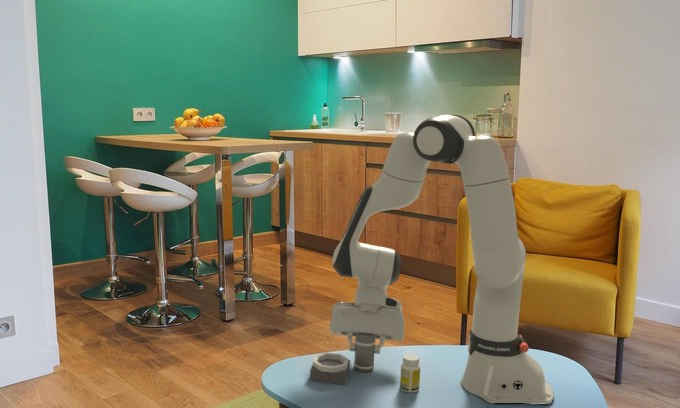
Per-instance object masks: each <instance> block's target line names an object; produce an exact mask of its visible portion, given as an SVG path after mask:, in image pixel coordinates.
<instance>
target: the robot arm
mask: <svg viewBox="0 0 680 408" xmlns="http://www.w3.org/2000/svg"><path fill="white" fill-rule="evenodd" d="M431 162H432V163H439V164H440V163H442V164H448V165H454V163H455V164H456V165H457V166H458V168H459V170H460V173H461V179H462V184H463V189H464V194H465V195H464V196H465V201H466V205H467V211H468V217H469V226H470V227H469V228H470V238H471V240H470V241H471V247H472V248H471V249H472V256H473V266H474V271H475V275H476V277H477V283H476V289H475V294H474V301H473V311H472V323H471V329H470V331H469V335H468V344H467V346H468V347H467V351H468V357H467V361H466V366H465V369H464V373H463V375H462V377H461V380H460V384H461V386H462V387H463V388H464V390H466V391H467V392H469V393H470V394H473V395H475V396H477V397H479V398H481V399H483V400H484V401H486V402H487V403H489V404H492V405H493V404H494V403H545V404H548V403H550V402H552V403H553V401H554V390H553V388H552V386H551V385H550V383H549V381H547V380H546V379H545V374H544V370H543V368H542V366H541V365H540V362H538V361H537V360H536V359H534V358H533V357H532V356H531V355H530V354H529V353H528V352H529V345H528V343H527V342H526V340H525V338H523V335H521V334H518V329H519V319H520V318H519V317H520V306H521V300H522V299H521V297H522V290H523V282H524V273H525V265H526V257H527V256H526V253H527V252H526V247H525V245H524V243H523V241H522V240H521V239H520V237H519V232H518V225H517V215H516V214H517V213H516V204H515V200H514V195H513V189H512V184H511V178H510V173H509V169H508V164H507V162H506V158H505V154H504V152H503V149H502V147H501V144H500V143H499V141H498V140H497V139H496V138H495V137H493V136H489V135H477V136H476V131H475V128H474V126H473V124H472V123H471V121H470V120H469V119H467V118H466V117H464V116H462V115H458V114H451V115H449V114H440V115H435V116H433V117H429V118H426V119H425V120H423V121H421V123H420V124H419V125H418V126H417V127H416V128H415V130H414V132H412V131H411V132H410V131H407V132H401V133H399V134H398V135H396V136H395V137H394V139H393V141H392V143H391V145H390V147H389V150H388V152H387V155H386V157H385V161H384V165H383V168H382V171H381V173H380V176H379V178H378V179H377V181H375V183H373V185H369V186H366V188H365V189H364V190H363V192H362V194H361V195H360V197H359V200H358V202H357V203H356V206H355V208H354V210H353V212H352V215H351V217H350V218H349V221H348V223H347V227H346V228H345V230H344V233H343V235H342V237H341V239H340V241H339V243H338V244H337V246H336V248H335V250H334V252H333V255H332V267H333V269H334V270H335V272H336V273H337V274H338V275H339V276H340V277H342V278H343V277H345V278H355V279H357V283H358V284H357V285H358V286H357V288H356V291H355V297H354V302H344V301H338V302H336V303H334V304H333V305H332V307H331V315H332V316H331V319H330V323H329V330H330V332H331V334H332V335H336V336H337V335H338V336H346V340H347V342H348V343H349V349H348V350H349V351H350V352H354V353H355V342H353V339H354V337H356V334H358V333H365V334H373V335H375V340H376V339H377V340H379V343H378V345H376V344H375V349H374V355H375V354H376V355H380V354H381V349H382V347H384V345H385V344H386V340H388V341H389V340H390V341H398V342H400V341H403V340H404V339H405V335H406V334H405V330H406V329H405V328H406V327H405V316H404V313H403V312H402V311H403V305H402V301H400V300H398V299H395V298H393V297H390V296H388V292H387V288H388V287H390V286H392V285H393V284H395V283H396V282H397V281H398V280H399V278H400V276H401V275H400V273H401V266H402V265H401V263H402V258H401V256H400V254H399V253H398V251H396V250H395V249H393V248H389V247H385V246H381V245H374V244H370V243H365V242H364V243H363V242H360V241H359V240H360V237H361V235H362V233H363V230H364V229H365V225H366V224H367V221H368V220H369V218H370V217H371V216H373V215H375V214H377V213H380V212H385V211H390V210H399V209H402V208H405V207H408V206H410V205H412V204H413V203H414V202H415V201H416V200H418V198H419V196H420V194H421V192H422V189H423V185H424V182H425V179H426V175H427V170H428V168H429V165H430V164H431ZM552 400H553V401H552ZM550 404H551V403H550ZM494 405H495V404H494ZM548 405H549V404H548Z"/></svg>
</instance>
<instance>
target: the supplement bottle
mask: <svg viewBox="0 0 680 408" xmlns="http://www.w3.org/2000/svg"><path fill="white" fill-rule="evenodd" d="M402 357H403V358H402V363H401V365H400V378H399V379H400V380H399V381H400V382H399V384H400V385H399V389H400V390H401V391H402V392H405V393H408V394H409V393H411V394H412V393H417V392H418V391H419V390H420V377H421V364H420V356H419V355H417V354H414V353H406V354H404V355H403V356H402Z"/></svg>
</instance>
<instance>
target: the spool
mask: <svg viewBox="0 0 680 408" xmlns="http://www.w3.org/2000/svg"><path fill="white" fill-rule="evenodd" d="M354 343H355V352H354V362H353V367H354V370H355V371H357V372H358V373H366V372H367V373H371V372H373V371H374V370H373V369H375V353H374V349H375V345H376V338H375V335H373V334H365V333H358V334H356V336H355V339H354ZM372 370H373V371H372ZM367 373H366V374H367Z"/></svg>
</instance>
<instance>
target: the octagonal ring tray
mask: <svg viewBox="0 0 680 408" xmlns="http://www.w3.org/2000/svg"><path fill="white" fill-rule="evenodd" d="M350 368H351V360H350V359H349V358H347V357H346V356H345V355H342V354H340V353H333V352H325V353H321V354H316V355H315V356H314V358H313V360H312V364H311V367H310V369H309V370H310V371H309V373H310V375H309V381H310V382H322V383H328V384H330V383H331V384H338V385H346V383H347V380H348V377H349V374H350V370H351V369H350Z"/></svg>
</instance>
